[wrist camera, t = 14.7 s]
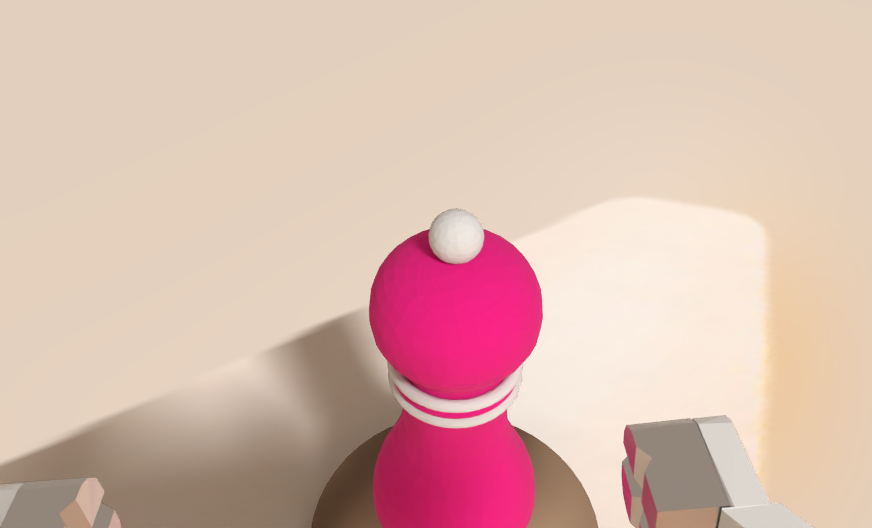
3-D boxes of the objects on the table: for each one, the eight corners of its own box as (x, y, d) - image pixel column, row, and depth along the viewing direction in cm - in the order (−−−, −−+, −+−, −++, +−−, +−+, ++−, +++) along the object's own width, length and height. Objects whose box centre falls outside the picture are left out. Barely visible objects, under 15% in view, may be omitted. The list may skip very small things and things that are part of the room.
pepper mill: (420, 639, 35) (403, 332, 21) (354, 507, 39) (305, 186, 26) (558, 564, 37) (622, 246, 23) (480, 448, 42) (496, 127, 28)
